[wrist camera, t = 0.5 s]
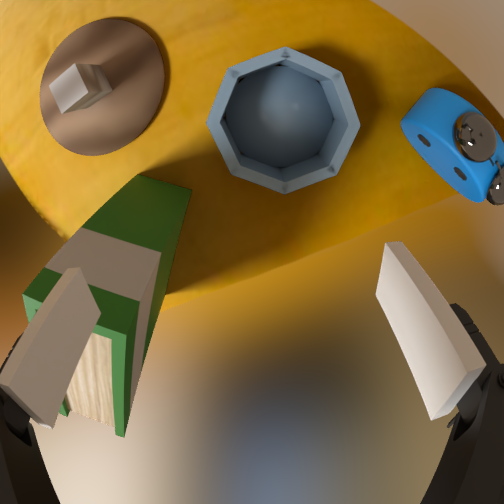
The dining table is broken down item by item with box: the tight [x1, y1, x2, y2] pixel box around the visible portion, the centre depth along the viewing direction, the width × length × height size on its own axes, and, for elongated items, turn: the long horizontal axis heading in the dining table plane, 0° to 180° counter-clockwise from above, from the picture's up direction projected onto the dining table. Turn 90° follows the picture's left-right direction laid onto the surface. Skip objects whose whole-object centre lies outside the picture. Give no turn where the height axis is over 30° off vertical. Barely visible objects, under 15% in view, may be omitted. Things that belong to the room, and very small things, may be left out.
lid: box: [40, 19, 165, 156], centre depth 25 cm, size 18×18×7 cm
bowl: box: [206, 47, 361, 195], centre depth 29 cm, size 14×14×6 cm
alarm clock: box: [401, 88, 504, 206], centre depth 25 cm, size 13×6×15 cm, turn 53°
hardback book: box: [23, 174, 192, 437], centre depth 29 cm, size 18×7×24 cm, turn 160°
